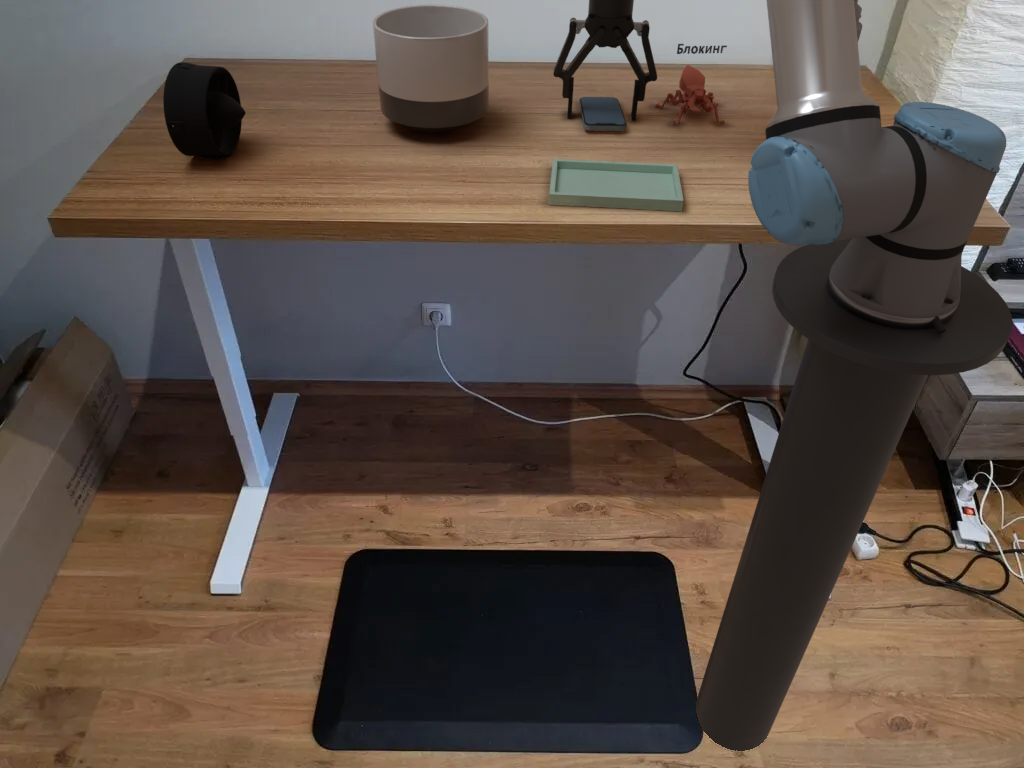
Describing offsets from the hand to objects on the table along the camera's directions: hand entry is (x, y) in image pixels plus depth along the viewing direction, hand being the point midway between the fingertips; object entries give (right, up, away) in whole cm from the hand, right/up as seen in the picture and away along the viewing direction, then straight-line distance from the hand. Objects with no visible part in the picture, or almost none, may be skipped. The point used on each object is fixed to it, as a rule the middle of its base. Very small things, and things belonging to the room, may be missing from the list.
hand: (601, 116), depth 149 cm
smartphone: (0, 0, 0) cm, 0 cm away
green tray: (0, -19, -22) cm, 29 cm away
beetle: (+17, 0, +1) cm, 17 cm away
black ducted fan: (-65, -11, -14) cm, 67 cm away
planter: (-30, -2, -3) cm, 31 cm away
